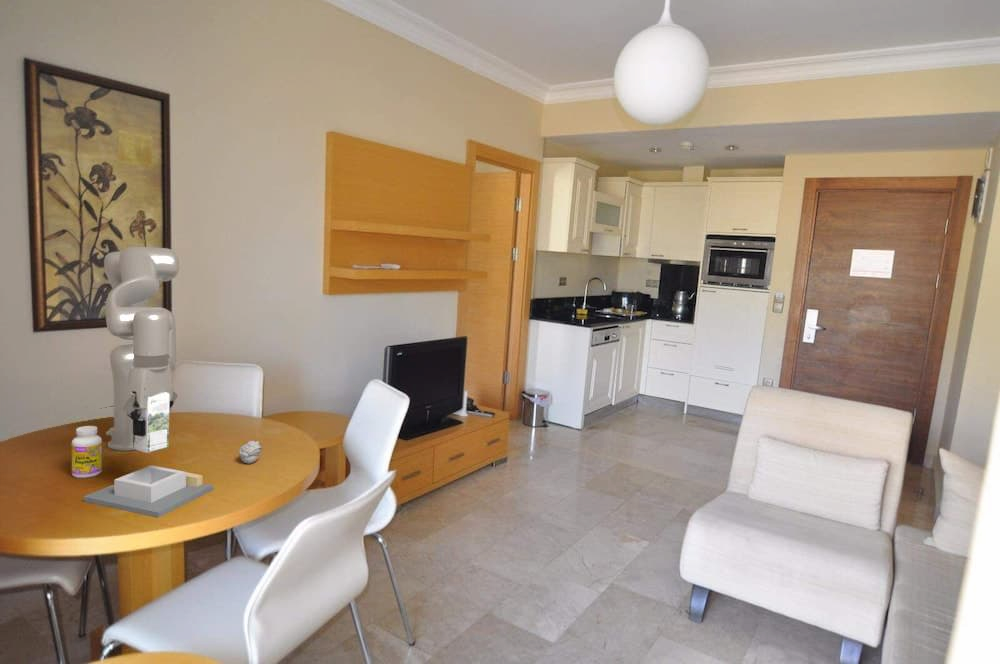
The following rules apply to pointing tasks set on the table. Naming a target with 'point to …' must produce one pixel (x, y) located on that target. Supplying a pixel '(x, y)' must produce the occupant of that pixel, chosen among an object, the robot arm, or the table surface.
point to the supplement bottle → (86, 452)
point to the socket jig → (151, 491)
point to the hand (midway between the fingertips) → (151, 430)
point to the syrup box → (155, 425)
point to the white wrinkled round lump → (250, 452)
